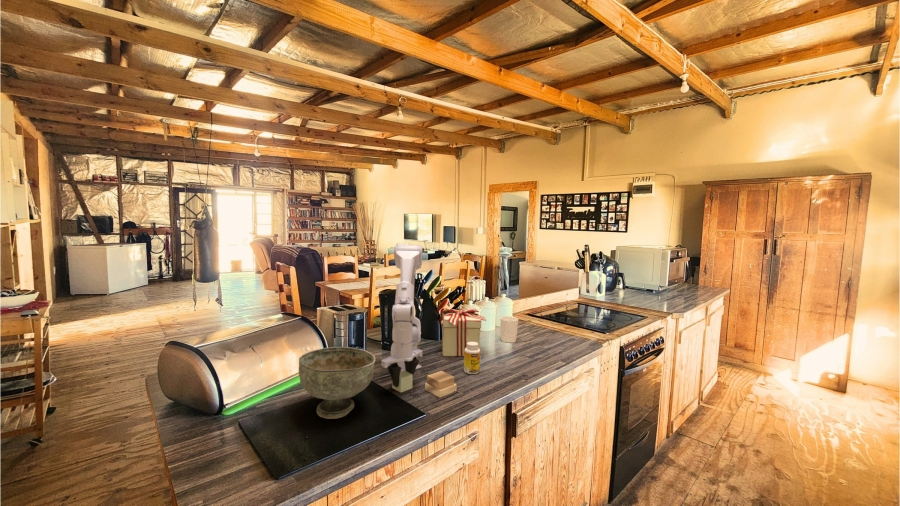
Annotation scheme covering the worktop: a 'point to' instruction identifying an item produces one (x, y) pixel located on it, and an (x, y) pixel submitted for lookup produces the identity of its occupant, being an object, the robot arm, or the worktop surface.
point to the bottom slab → (440, 392)
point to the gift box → (460, 330)
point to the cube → (404, 381)
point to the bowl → (336, 377)
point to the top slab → (440, 380)
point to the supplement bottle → (472, 358)
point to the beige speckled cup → (508, 329)
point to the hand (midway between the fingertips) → (402, 383)
